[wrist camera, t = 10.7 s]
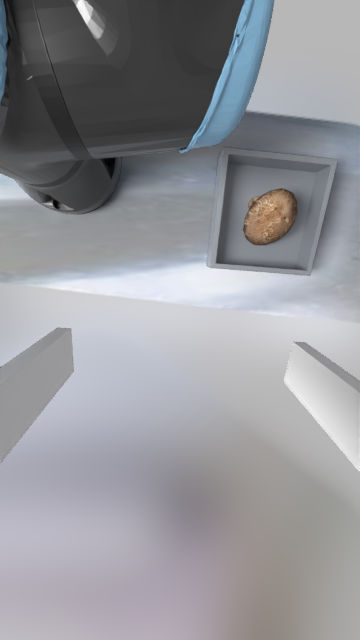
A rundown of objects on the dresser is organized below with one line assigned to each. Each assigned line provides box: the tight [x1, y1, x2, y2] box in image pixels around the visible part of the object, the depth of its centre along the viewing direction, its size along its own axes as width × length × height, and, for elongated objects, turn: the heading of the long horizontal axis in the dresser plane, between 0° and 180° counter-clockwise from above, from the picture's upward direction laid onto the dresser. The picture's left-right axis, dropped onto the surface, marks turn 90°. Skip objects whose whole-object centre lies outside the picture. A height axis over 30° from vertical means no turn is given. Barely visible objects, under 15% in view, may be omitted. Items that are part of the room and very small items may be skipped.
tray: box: [207, 147, 338, 276], centre depth 35 cm, size 15×15×4 cm
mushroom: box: [243, 188, 298, 245], centre depth 34 cm, size 8×8×6 cm
